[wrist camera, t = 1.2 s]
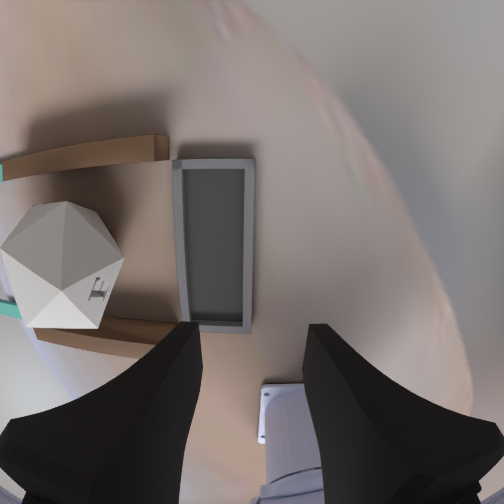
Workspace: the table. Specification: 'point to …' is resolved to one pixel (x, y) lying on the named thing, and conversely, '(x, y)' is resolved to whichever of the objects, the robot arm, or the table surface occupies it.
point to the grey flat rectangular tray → (214, 242)
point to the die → (61, 266)
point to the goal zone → (3, 305)
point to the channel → (89, 155)
